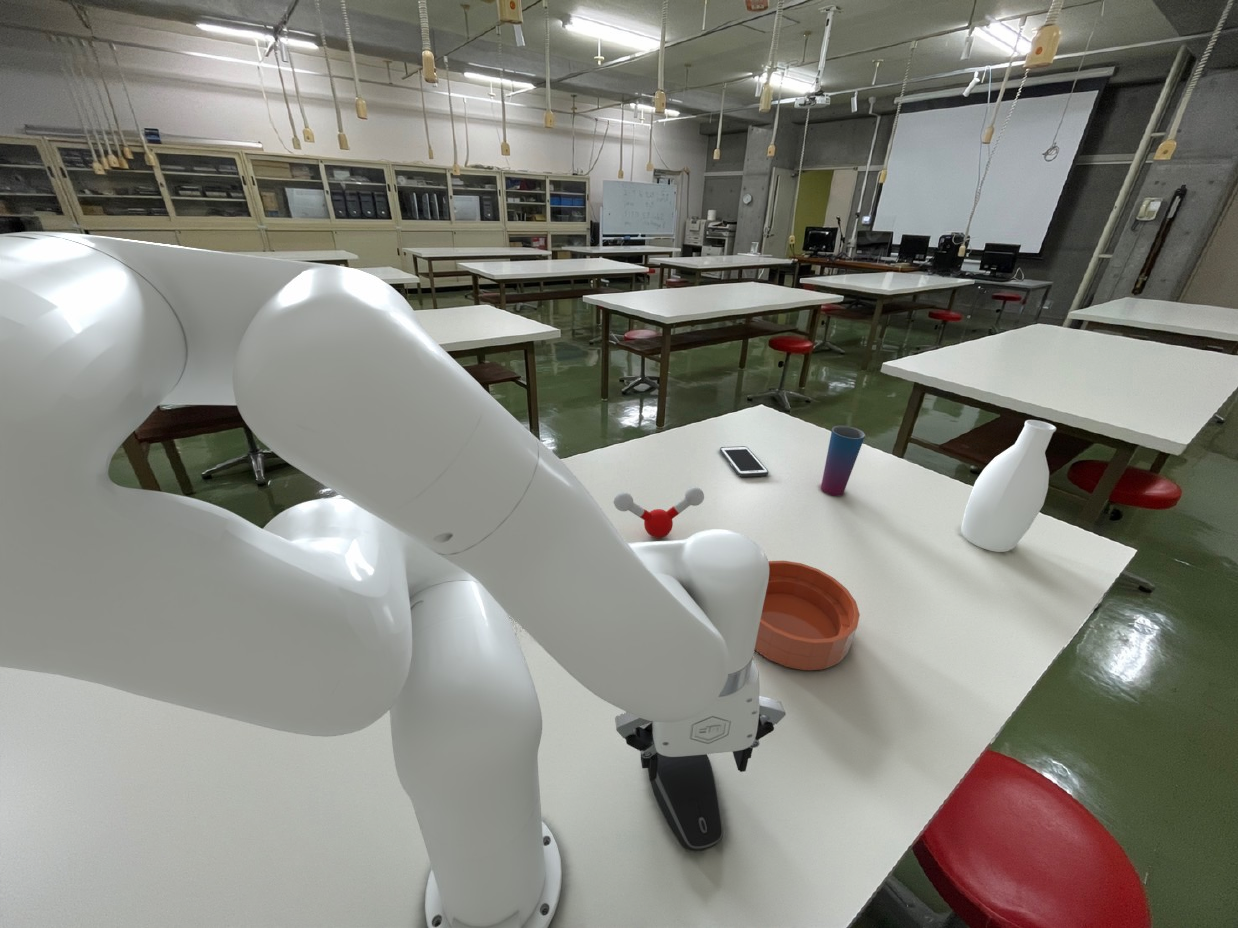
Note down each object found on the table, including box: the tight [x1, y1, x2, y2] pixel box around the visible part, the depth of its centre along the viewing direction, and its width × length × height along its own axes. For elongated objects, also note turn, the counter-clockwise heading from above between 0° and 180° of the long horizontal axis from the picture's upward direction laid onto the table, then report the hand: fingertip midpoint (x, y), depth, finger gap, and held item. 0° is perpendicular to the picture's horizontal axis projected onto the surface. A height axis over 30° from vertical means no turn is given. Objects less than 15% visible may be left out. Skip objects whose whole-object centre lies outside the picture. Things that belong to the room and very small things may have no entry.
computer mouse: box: [649, 752, 724, 852], centre depth 55 cm, size 7×12×4 cm, turn 16°
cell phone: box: [719, 445, 769, 478], centre depth 126 cm, size 8×15×1 cm, turn 10°
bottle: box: [960, 419, 1057, 553], centre depth 95 cm, size 11×11×25 cm
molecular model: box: [613, 486, 705, 539], centre depth 96 cm, size 18×6×10 cm, turn 107°
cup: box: [820, 425, 866, 497], centre depth 113 cm, size 7×7×15 cm
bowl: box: [754, 560, 861, 671], centre depth 77 cm, size 17×17×6 cm
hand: (694, 762), depth 54 cm, fingers open, 9 cm apart
